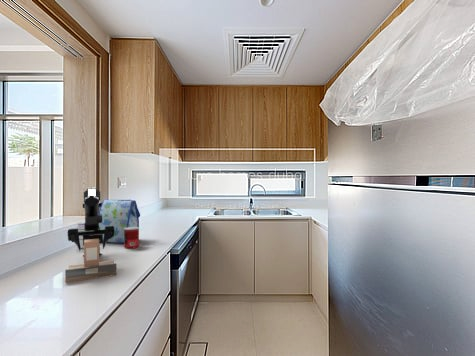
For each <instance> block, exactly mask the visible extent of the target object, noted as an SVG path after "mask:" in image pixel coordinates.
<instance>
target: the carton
mask: <svg viewBox="0 0 475 356" xmlns="http://www.w3.org/2000/svg"><path fill="white" fill-rule="evenodd" d="M99 246H100V243H99V239H89V240H84V248H83V255H84V256H83V264H84V267H90V266H98V265H99V262H100V255H99Z"/></svg>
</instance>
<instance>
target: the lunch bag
mask: <svg viewBox="0 0 475 356" xmlns="http://www.w3.org/2000/svg"><path fill="white" fill-rule="evenodd" d="M101 203H102V206H101V207H100V208H99V210H98V213H99V215H102V223H99V227H100V230H105V226H114V229H115V231H114V237H111V239H109V240H108V241H107V243H121V244H124V228H127V227H139V228H140V217H141V213H140V210H139V207H138V204H137V202H136V200H132V199H103V200H102V201H101ZM103 240H104V234H103ZM99 241H100V240H99Z"/></svg>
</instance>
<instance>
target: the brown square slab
mask: <svg viewBox="0 0 475 356" xmlns="http://www.w3.org/2000/svg"><path fill="white" fill-rule="evenodd" d="M64 275H65V280H64V281H65V283H70V282H76V281H77V282H78V281H83V280H89V279H98V278H104V277H113V276H117V262H116V263H115V260H113V259H112V260H105V261H99V265H98V266H90V267H84V263H81V264H80V263H79V264H73V265H69V266H68V268H67V269H65V274H64Z"/></svg>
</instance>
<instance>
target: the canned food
mask: <svg viewBox="0 0 475 356" xmlns="http://www.w3.org/2000/svg"><path fill="white" fill-rule="evenodd" d="M139 237H140V226H139V227H127V228H124V243H123V244H124V245H123V247H124V249H136V248H138V247H139V246H140V238H139Z"/></svg>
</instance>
